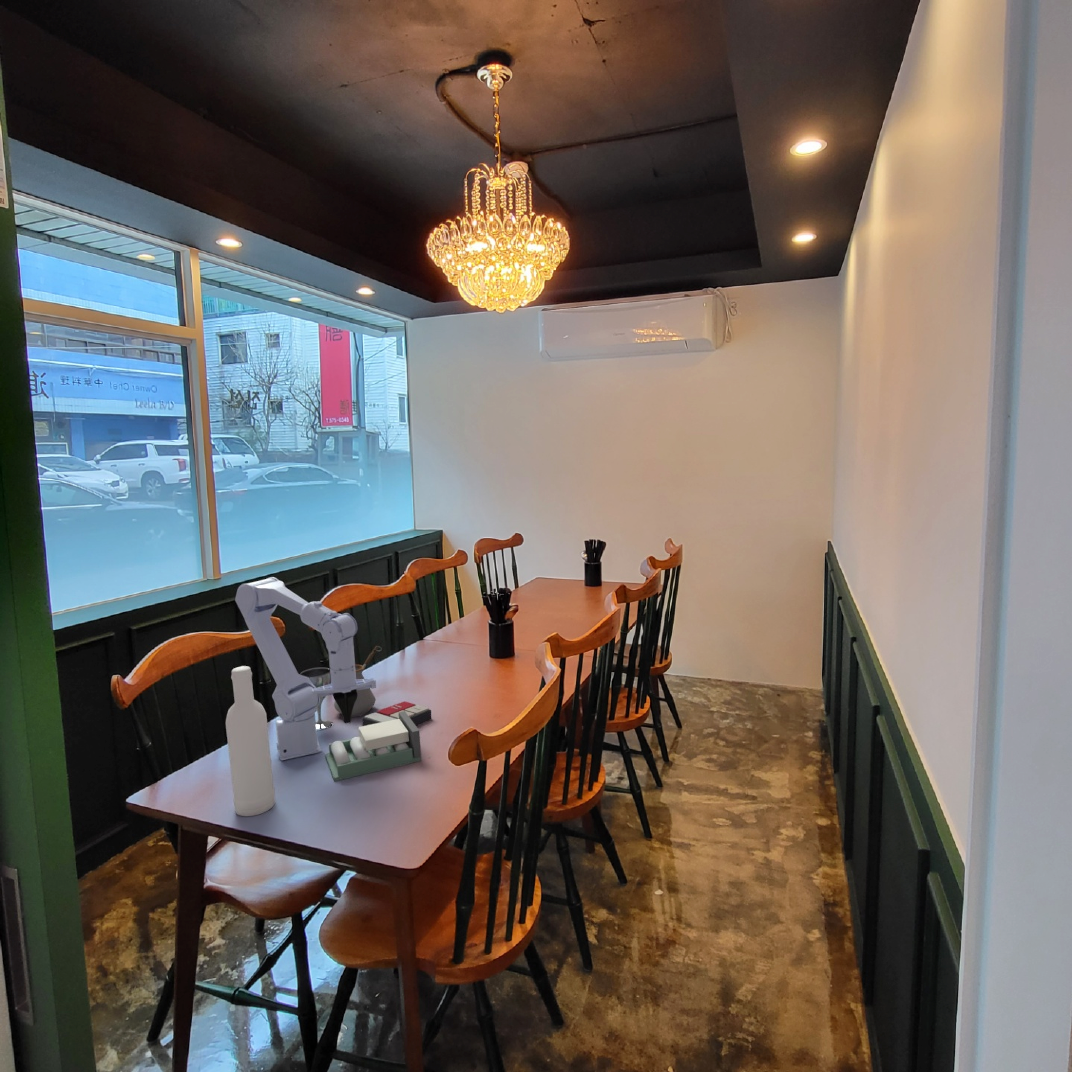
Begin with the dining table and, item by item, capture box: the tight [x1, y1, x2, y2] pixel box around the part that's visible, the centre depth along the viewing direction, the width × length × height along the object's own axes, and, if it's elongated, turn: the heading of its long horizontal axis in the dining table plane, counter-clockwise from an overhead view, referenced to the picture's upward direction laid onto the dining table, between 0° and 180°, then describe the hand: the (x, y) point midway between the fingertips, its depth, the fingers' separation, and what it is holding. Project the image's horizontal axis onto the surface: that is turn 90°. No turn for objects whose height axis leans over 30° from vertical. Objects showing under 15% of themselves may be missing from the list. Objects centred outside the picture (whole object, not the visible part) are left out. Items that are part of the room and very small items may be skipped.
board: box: [358, 719, 409, 751], centre depth 162 cm, size 10×9×2 cm
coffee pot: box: [333, 645, 383, 718], centre depth 195 cm, size 21×12×15 cm, turn 164°
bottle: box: [225, 665, 276, 817], centre depth 139 cm, size 8×8×30 cm
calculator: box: [361, 701, 432, 727], centre depth 181 cm, size 11×4×15 cm
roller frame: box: [324, 711, 422, 782], centre depth 161 cm, size 20×14×7 cm
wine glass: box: [300, 666, 334, 730], centre depth 182 cm, size 8×8×15 cm
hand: (347, 721), depth 160 cm, fingers closed
